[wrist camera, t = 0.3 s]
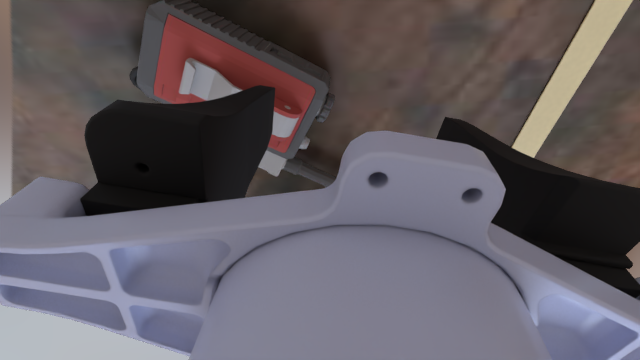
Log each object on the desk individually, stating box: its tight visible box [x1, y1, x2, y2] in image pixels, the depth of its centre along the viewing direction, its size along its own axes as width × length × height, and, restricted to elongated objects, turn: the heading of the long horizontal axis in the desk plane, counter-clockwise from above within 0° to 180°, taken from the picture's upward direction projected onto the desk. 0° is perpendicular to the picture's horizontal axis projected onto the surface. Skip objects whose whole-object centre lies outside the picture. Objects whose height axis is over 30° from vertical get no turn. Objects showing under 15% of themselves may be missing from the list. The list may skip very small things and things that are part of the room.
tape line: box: [512, 0, 633, 158], centre depth 24 cm, size 24×2×1 cm, turn 172°
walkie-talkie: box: [130, 0, 336, 187], centre depth 22 cm, size 9×4×20 cm
